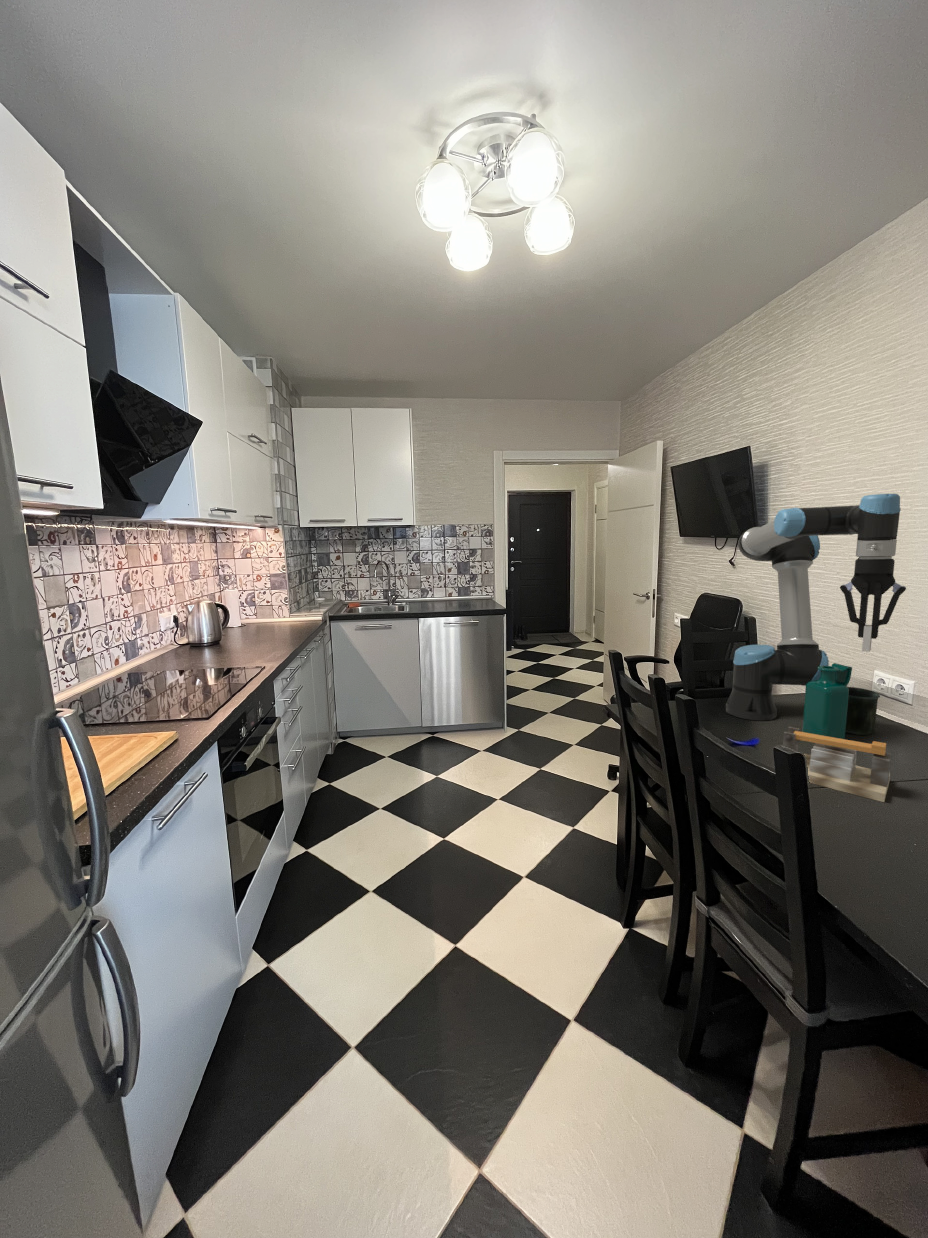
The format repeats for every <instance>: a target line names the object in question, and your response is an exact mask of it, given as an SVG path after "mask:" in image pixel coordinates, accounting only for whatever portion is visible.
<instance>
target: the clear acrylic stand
mask: <svg viewBox="0 0 928 1238" xmlns="http://www.w3.org/2000/svg"><path fill="white" fill-rule="evenodd" d="M800 729H801V728H798V727H793V726H788V727H787V731H784V732H783V741H782V742H783V743H782V747H783V746H785V747H788V748H791V749H793V750H796V751H798V752H799V745H800V740H797V739H795V738H796V734H794V732H795V731H799V732H801V730H800ZM804 755H805V757H806V760H807V767H808V776H809V782H810V784H814V785H817V786H821V787H826V788H828V789H829V788H830V789H832V790H835V791H839V792H844V793H849V794H851V795H855V796H857V797H858V796H860V797H862V798H866V799H870V800H874V801H878V802H881V803H885V801H886V797H887V794H888V793H887V792H888V789H889V785H890V782H891V781H890V780H891V773H890V772H891V764H892V763H891V762H892V753H887V752H886V753H885V756H884V755H878V754H872V758H871V768H868V767H864V766H859V765H857V750H851V749H846V748H840V747H835V746H829V745H824V744H819V743H814V745H813V747H812V748H811V750H810V754H807V753H804ZM809 782H808V783H809Z"/></svg>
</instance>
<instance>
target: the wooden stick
mask: <svg viewBox="0 0 928 1238" xmlns="http://www.w3.org/2000/svg"><path fill="white" fill-rule="evenodd" d="M794 734H796V738H795V739H797V740H799V741H803V742H809V743H814V744H815V743H819V744H824V745H829V746H835V747H840V748H846V749H851V750H857V751H858V752H862V753H863V752H864V753H868V754H872V755H874V754H878V755H884V756H885V753H887V743H886V742H881V741H874V740H873V741H872V743H868V742H867V743H866V742H863V741H862V742H861V741H856V740H850V739H849V740H848V739H846V738H845V739H840V738H834V737H828V736H822V735H817V734H811V733H805V732H802V731H800V732H799V731H795V732H794Z"/></svg>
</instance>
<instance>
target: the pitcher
mask: <svg viewBox="0 0 928 1238" xmlns="http://www.w3.org/2000/svg"><path fill="white" fill-rule="evenodd" d="M817 668H818V669H819V670H821V674H820V679H819V680H814V681H809V682H808V683H807V684H806V686H805V691H804V703H803V704H804V705H803V718H802V729H801V730H802V731H801V732H805V733H811V734H817V735H822V736H828V737H834V738H840V739H845V740H846V733H847V732H846V721H847V710H848V698H849V689H848V687H849V686H848V685H849V683H850V681H851V677H852V673H853V667H852V666H849V665H845V664H840V663H837V662H833V663H832V664H831V665H829V666H818V667H817Z"/></svg>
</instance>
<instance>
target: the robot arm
mask: <svg viewBox="0 0 928 1238" xmlns="http://www.w3.org/2000/svg"><path fill="white" fill-rule="evenodd" d="M901 511H902V510H901V495H899V494H898V493H880V494H879V493H878V494H877V493H875V494H867V495H864V496H862V498H861V499H860V503H859V504H858V505H857V504H856V505H840V506H839V505H837V506H836V505H835V506H820V507H819V506H817V507H791V508H782V509H780V510H778V512H777V514H776V515H775V516H774V519H773V521H770V522H768V523H766V524H764V525H762V526H754V527H751V528H749V529H747V530H746V531H744V532H743V533H742V534H741V535H740V537H739V539H738V541H737V544H738V545H737V547H738V550H739V551H740V553H741V554H742V555H743V556H744V557H745V558H747V559H750V560H752V561H754V562H771V567H772V568H773V570H775V571H776V572H777V583H778V599H779V614H780V615H779V616H780V630H781V631H780V632H781V640H780V641H779V642H778V643H777V644H776V648H775V647H774V645H773V646H772V645H770V644H749V645H744V646H740V647H739V648H737V649H736V650H735V651H734V657H733V661H732V663H733V675H732V688H731V689H732V690H731V692H730V694H729V697H728V698H727V701H726V704H725V712H726V713H727V714H729V715H732V716H734V717H736V718H740V719H744V720H750V721H761V722H762V721H763V722H764V721H772V720H774V719H776V718H777V716H778V709H777V707H776V703H775V700H774V696H773V685H774V686H775V685H778V686H779V685H780V686H781V685H783V686H802V687H806V684H807V683H808V682H809V681H814V680H819V679H820V674H821V670H819V669H818V668H817V667H818V666H830V663H829V656H828V654H827V652H825V651H824V650H822V649H820V646H819V645H820V644H819V643H818V642H817V641H816V640H814V639H813V637H814V636H813V628H812V627H813V625H812V623H813V621H812V613H811V612H812V611H811V610H812V609H811V595H810V583H809V581H810V580H809V568H810V567H811V566H812V565H814V560H816V559H817V558H818V556H819V554H820V550H821V541H820V537H819V536H841V535H843V536H847V535H849V536H851V535H857V538H856V550H855V556H856V557H857V558H856V560H854V561H855V562H854V574H853V576H852V578H851V579H850V581H849V582H847V583H846V584H842V585H841V586H839V589H840V591H841V592H842V593H843V595H844V599H845V604H846V608H847V613H848V618H849V621H850V622H851V623H854V624H856V625H858V626H857V627H858V630H857V637H858V638H861V639H862V645H861V652H864V653H865V652H867V653H870V652H871V649H872V642H873V639H875V640H876V639H877V638H878V637H879V627H880V626H883V625H885V626H886V625H888V624H889V621H890V619H891V617H892V615H893V612H894V610H895V607H896V605H897V603H898V602H899V598H900V597H901V595H902V594H903V593H904V592H905V591H906V590H907V586H905V585H901V584H899V583H898V582H896V579H895V577H894V571H895V561H896V560H895V559H894V558H893V557H895V556H896V552H897V551H896V550H897V539H898V532H899V531H898V530H899V524H900V523H899V522H900V516H901V515H900V513H901ZM853 587H854V588H855V589H856V591H857V592H858V593H859V594H860V604H859V615H858V617H857V612H856V607H855V603H854V598H853V594H852V591H853ZM891 588H892V590H891V591H892V592H893V595H892V596H891V599H890V600H889V603H888V605H887V608H886V610H885V613H884V614H883V618H882V619H880V617H881V607H882V598H883V595H884V594H885V593H887V591H888V590H890V589H891ZM871 595H872V596H873V607H872V618H871V619H872V620H871V624H867V616H868V615H867V614H868V604H869V596H871Z"/></svg>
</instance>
